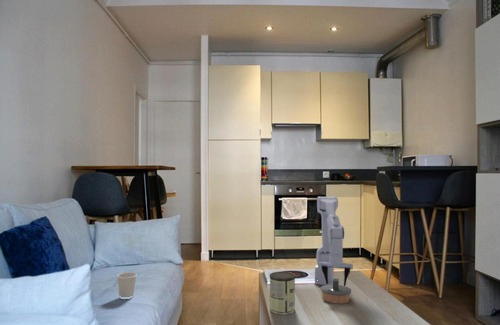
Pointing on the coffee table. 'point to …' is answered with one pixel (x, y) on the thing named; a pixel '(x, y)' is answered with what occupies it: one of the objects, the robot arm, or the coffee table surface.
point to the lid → (335, 288)
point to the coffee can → (282, 293)
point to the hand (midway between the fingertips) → (335, 284)
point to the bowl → (335, 298)
